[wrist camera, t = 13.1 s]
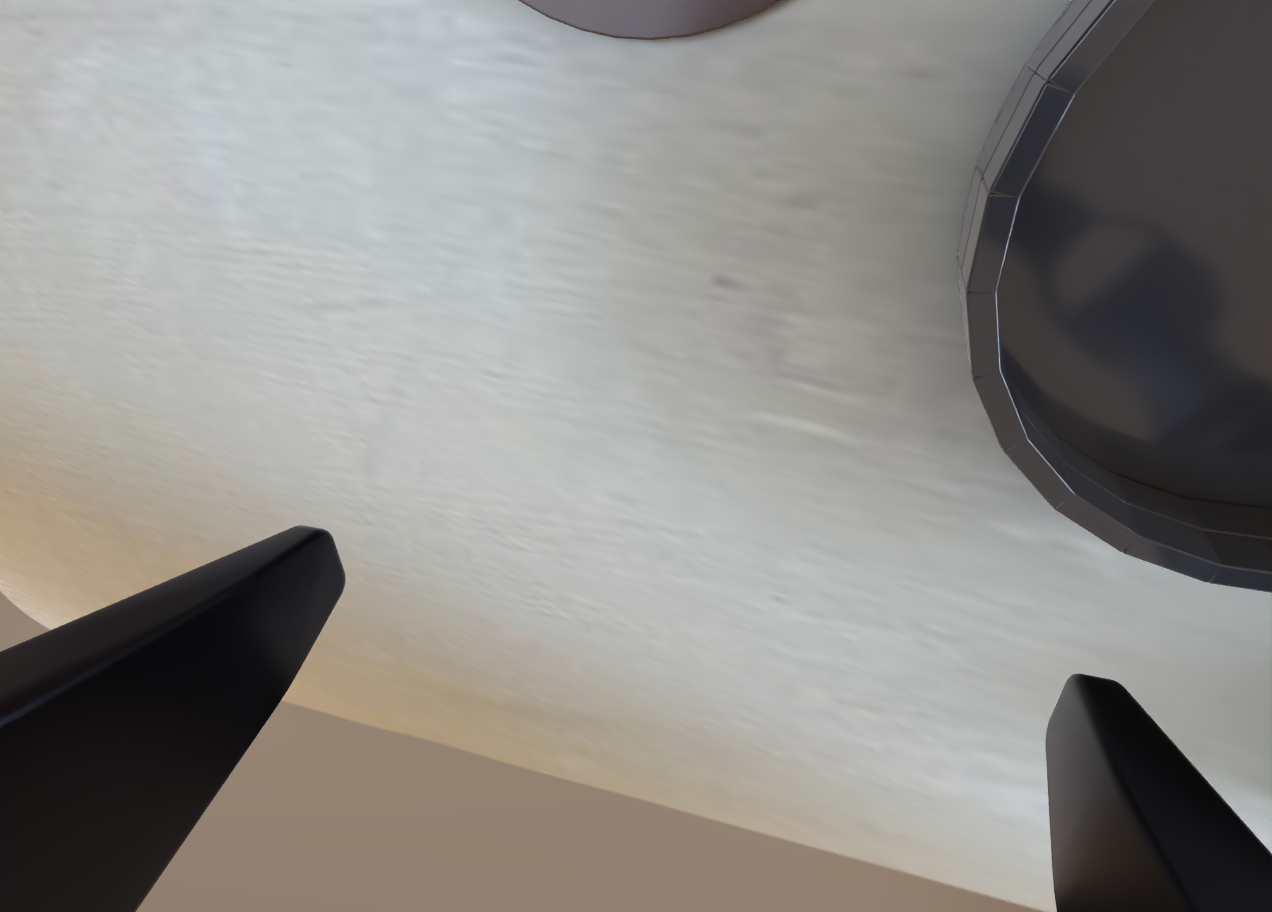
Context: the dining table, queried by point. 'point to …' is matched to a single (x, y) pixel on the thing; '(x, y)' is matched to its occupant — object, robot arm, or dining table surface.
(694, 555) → the dining table surface
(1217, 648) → the dining table surface
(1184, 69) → the pan
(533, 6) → the disc
